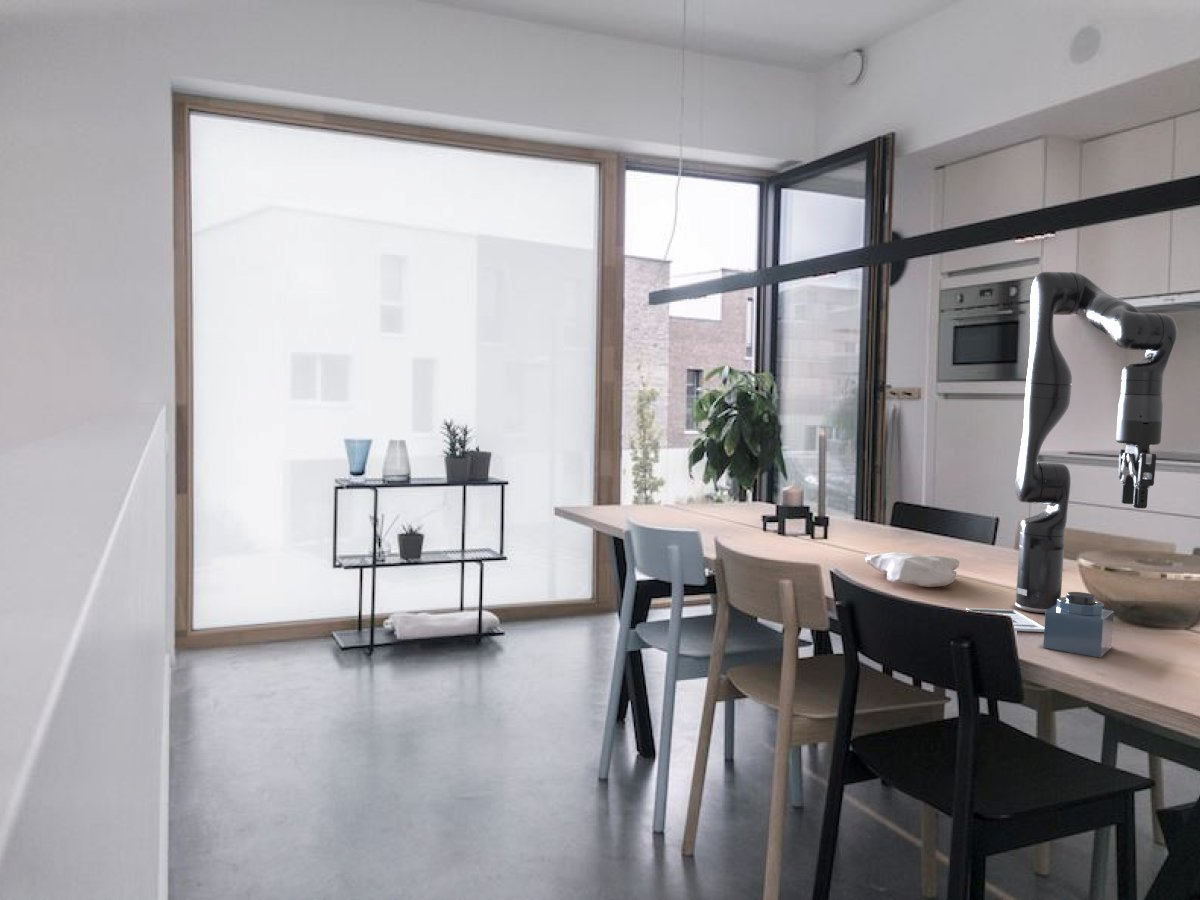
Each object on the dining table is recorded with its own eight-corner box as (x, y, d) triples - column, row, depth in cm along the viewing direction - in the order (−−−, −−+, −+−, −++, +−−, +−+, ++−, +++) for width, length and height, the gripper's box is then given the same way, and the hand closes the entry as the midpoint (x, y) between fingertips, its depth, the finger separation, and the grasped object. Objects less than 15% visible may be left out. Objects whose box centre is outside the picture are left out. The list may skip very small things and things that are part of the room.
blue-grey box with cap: (1056, 638, 198) (1059, 593, 197) (1111, 647, 192) (1114, 601, 191) (1043, 647, 190) (1046, 601, 189) (1100, 657, 184) (1103, 609, 183)
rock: (877, 586, 243) (859, 573, 273) (975, 592, 241) (946, 578, 270) (878, 554, 243) (860, 545, 273) (976, 559, 241) (947, 550, 271)
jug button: (1069, 599, 194) (1070, 590, 194) (1097, 603, 191) (1098, 594, 191) (1063, 603, 190) (1063, 594, 190) (1091, 607, 187) (1092, 598, 187)
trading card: (1048, 632, 202) (1014, 612, 220) (1048, 629, 202) (1014, 609, 220) (995, 630, 203) (965, 610, 221) (995, 627, 203) (965, 607, 221)
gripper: (1106, 417, 196) (1101, 500, 197) (1130, 418, 182) (1124, 509, 183) (1148, 418, 195) (1142, 503, 196) (1174, 420, 181) (1168, 511, 182)
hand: (1133, 505), depth 190 cm, fingers open, 6 cm apart
